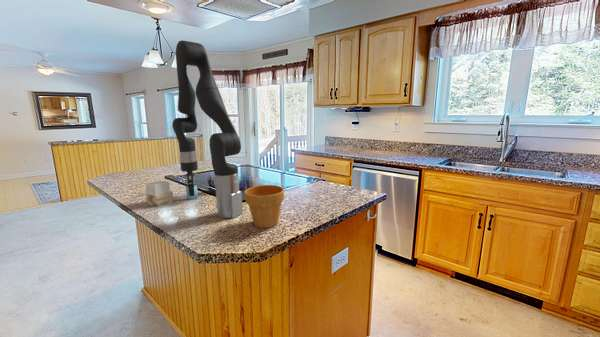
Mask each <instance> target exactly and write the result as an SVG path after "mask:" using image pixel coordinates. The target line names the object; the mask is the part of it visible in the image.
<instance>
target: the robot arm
mask: <svg viewBox="0 0 600 337" xmlns="http://www.w3.org/2000/svg"><path fill="white" fill-rule="evenodd" d="M175 61H176V62H175V63H176V64H175V65H176V73H177V74H176V75H177V84H178V97H177V98H178V99H177V111H178V112H179V113H180V114H183V115H186V117H176V118H174V120H173V121H172V124H171V126H172V129H173V132H174V135H175V137H176V139H177V142H178V149H179V164H180V171H182V172H184V173H185V172H186V173H185V179H186V185H187V186H188V189H189V195H190V196H194V185H195V171H198V170H199V167H198V166H199V165H198V157H197V156H198V155H197V152H196V140H195V139H194V138H192V137H187V136H186V135H185V134H188V133H189V134H190V133H195V132H196V130H197V129H198V121H197V115H196V109H195V108H196V99H197V101H198V105H199V106H200V109H201V110H202V111H203V113H204V114H205V115H206V116H207V117H208V118H210V119H211V120H212V121H213V122H214V123H215V124H216V125H217V126H218V127H219V129H220V132H218V133H212V134H211V135H210V138H209V142H208V143H209V151H210V156H211V157H210V158H211V165H212V170H213V176H214V187H215V199H216V211H217V212H216V213H217V216H218V217H219V218H222V219H234V218H236V217H238V216H241V215H242V214H244V212H243V199H242V198H243V194H242V191H241V190H240V182H239V181H240V180H239V169H238V165H236V164H234V163H229V162H227V161H226V157H230V156H236V155H238V154H239V153H240V152H241V150H242V144H241V140H240V137H239V134H238V132H237V130H236V128H235V126H234V124H233V122H232V120H231V118H230V116H229V114H228V111H227V109H226V106H225V103H224V101H223V97H222V94H221V92H220V90H219V87H218V84H217V82H216V80H215V78H214V75H213V72H212V68H211V64H210V60H209V56H208V53H207V51H206V48H205V46H204V45H203V44H201V43H199V42H194V41H188V40H179V41H178V42H177V44H176V48H175ZM188 66H192V67H197V70H198V71H199V78H198V82H197V84H196V86H195V89H194V87H193V85H192V83H191V81H190V79H189V76H188V72H187V71H188V70H187V69H188Z"/></svg>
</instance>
